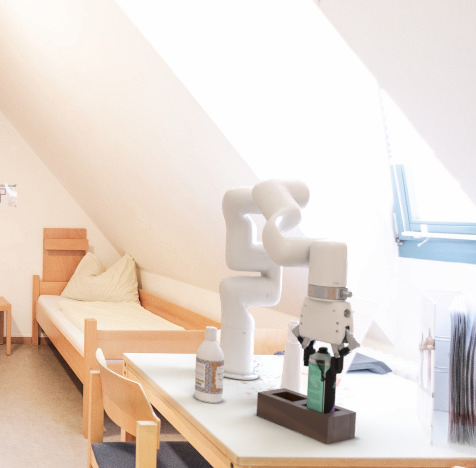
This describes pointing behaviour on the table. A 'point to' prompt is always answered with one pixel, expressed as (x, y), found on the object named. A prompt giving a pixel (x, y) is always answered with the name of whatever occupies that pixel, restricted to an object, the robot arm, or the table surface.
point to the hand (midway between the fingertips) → (322, 368)
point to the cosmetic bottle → (292, 362)
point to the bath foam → (209, 368)
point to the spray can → (321, 382)
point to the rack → (305, 416)
